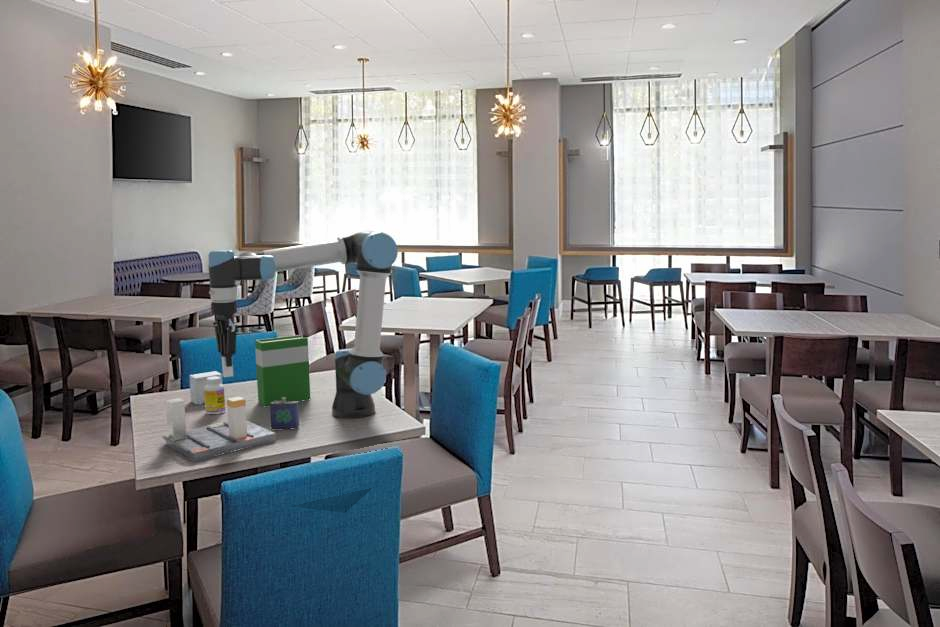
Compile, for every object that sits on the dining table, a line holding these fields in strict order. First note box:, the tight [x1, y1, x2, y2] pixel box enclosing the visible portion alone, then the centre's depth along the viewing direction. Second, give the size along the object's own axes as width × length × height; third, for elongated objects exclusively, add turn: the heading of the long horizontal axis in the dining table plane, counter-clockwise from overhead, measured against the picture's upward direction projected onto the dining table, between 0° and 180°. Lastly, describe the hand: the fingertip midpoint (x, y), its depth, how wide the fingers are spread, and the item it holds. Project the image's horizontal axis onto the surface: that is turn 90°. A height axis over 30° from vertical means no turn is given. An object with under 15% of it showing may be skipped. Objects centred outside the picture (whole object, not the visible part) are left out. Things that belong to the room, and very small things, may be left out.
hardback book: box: [254, 334, 311, 408], centre depth 275 cm, size 18×7×24 cm, turn 124°
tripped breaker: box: [226, 396, 247, 439], centre depth 227 cm, size 4×4×12 cm
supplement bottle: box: [204, 376, 226, 415], centre depth 262 cm, size 7×7×13 cm
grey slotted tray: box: [162, 397, 277, 462], centre depth 229 cm, size 23×27×15 cm
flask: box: [269, 397, 300, 430], centre depth 243 cm, size 9×3×11 cm, turn 95°
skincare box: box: [188, 370, 224, 405], centre depth 278 cm, size 10×6×10 cm, turn 131°
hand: (228, 376), depth 227 cm, fingers closed
